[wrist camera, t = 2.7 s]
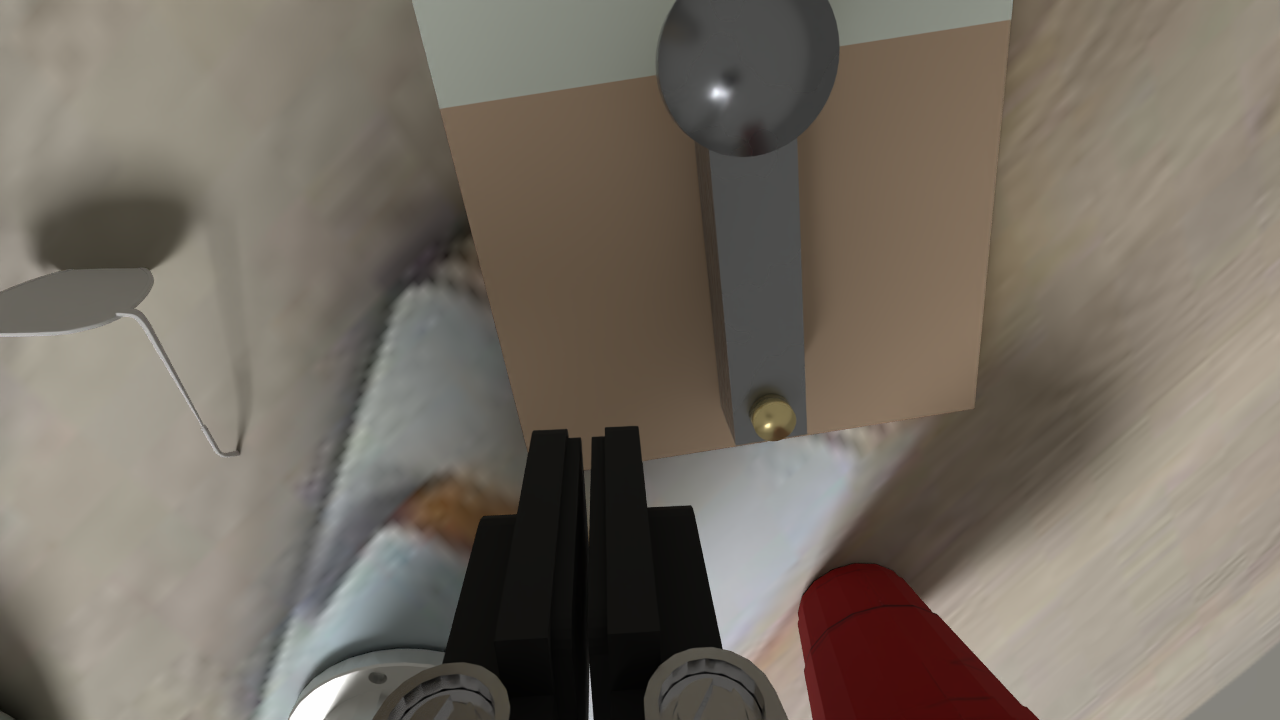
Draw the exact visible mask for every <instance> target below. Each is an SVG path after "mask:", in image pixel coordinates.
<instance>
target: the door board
mask: <svg viewBox="0 0 1280 720" xmlns="http://www.w3.org/2000/svg"><path fill="white" fill-rule="evenodd" d="M675 1H676V0H412V3H413V6H414V10H415V14H416V18H417V22H418V26H419V30H420V34H421V38H422V42H423V45H424V49H425V53H426V57H427V61H428V65H429V69H430V73H431V77H432V81H433V84H434V88H435V92H436V96H437V100H438V104H439V108H440V112H441V116H442V119H443V123H444V127H445V131H446V135H447V139H448V143H449V147H450V151H451V155H452V158H453V162H454V166H455V170H456V174H457V178H458V182H459V186H460V190H461V194H462V197H463V201H464V205H465V209H466V213H467V217H468V221H469V225H470V229H471V233H472V236H473V240H474V244H475V248H476V252H477V256H478V260H479V264H480V268H481V271H482V275H483V279H484V283H485V287H486V291H487V295H488V299H489V303H490V307H491V310H492V314H493V318H494V322H495V326H496V330H497V334H498V338H499V342H500V346H501V349H502V353H503V357H504V361H505V365H506V369H507V373H508V377H509V381H510V385H511V388H512V392H513V396H514V400H515V404H516V408H517V412H518V416H519V420H520V423H521V427H522V431H523V435H524V439H525V443H526V447H527V451H528V452H529V446H530V441H531V435H532V431H534V430H554V429H567V430H568V435H569V438H577V437H581V441H582V454H583V468H584V470H589V469H591V441H592V437H599V436H605V427H620V426H638V427H639V435H640V445H641V454H642V461H646V460H652V459H659V458H665V457H672V456H678V455H684V454H691V453H697V452H703V451H710V450H716V449H722V448H729V447H735V446H742V445H735V442H734V440H733V437H732V435H731V432H730V429H729V427H728V424H727V422H726V419H725V416H724V414H723V411H722V408H721V403H720V393H719V383H718V373H717V363H716V353H715V343H714V333H713V323H712V313H711V303H710V293H709V283H708V273H707V263H706V253H705V243H704V233H703V223H702V213H701V203H700V192H699V182H698V172H697V162H696V152H695V142H694V140H693V139H691V138H690V137H688V136H687V135H686V134H685V133H684V132H683V131H682V130H681V129H680V128H679V127H678V126H677V125H676V123H675V122H674V121H673V120H672V118H671V116H670V115H669V113H668V111H667V110H666V108H665V105H664V103H663V101H662V98H661V95H660V92H659V89H658V84H657V78H656V65H655V61H656V49H657V43H658V38H659V34H660V31H661V28H662V25H663V23H664V20H665V18H666V16H667V14H668V12H669V10H670V8H671V7H672V5H673V3H674V2H675ZM828 1H829V3H830V5H831V7H832V10H833V13H834V16H835V19H836V22H837V28H838V33H839V45H840V51H839V64H838V70H837V75H836V79H835V82H834V86H833V88H832V91H831V93H830V96H829V98H828V100H827V102H826V104H825V105H824V107H823V109H822V111H821V112H820V113H819V115H818V116H817V118H816V119H815V120H814V122H813V123H812V124H811V125H810V126H809V127H808V128H807V129H806V130H805V131H804V132H803V133H802V134H801V135H800V136H798V137H797V148H798V178H799V207H800V236H801V266H802V295H803V324H804V354H805V383H806V412H807V434H806V435H812V434H818V433H824V432H831V431H837V430H843V429H850V428H856V427H862V426H869V425H875V424H882V423H888V422H894V421H901V420H907V419H913V418H920V417H926V416H932V415H939V414H945V413H952V412H958V411H964V410H971V409H974V406H975V396H976V385H977V375H978V364H979V354H980V343H981V333H982V322H983V312H984V301H985V290H986V280H987V269H988V259H989V248H990V238H991V227H992V217H993V206H994V196H995V185H996V175H997V164H998V154H999V143H1000V132H1001V122H1002V111H1003V101H1004V90H1005V80H1006V69H1007V59H1008V48H1009V38H1010V27H1011V17H1012V6H1013V0H828ZM800 436H805V435H800ZM794 437H799V436H794ZM787 438H792V437H787ZM784 439H786V438H784ZM762 442H767V441H762ZM755 443H761V442H755ZM749 444H754V443H749ZM743 445H748V444H743Z"/></svg>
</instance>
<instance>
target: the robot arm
mask: <svg viewBox="0 0 1280 720" xmlns="http://www.w3.org/2000/svg"><path fill="white" fill-rule="evenodd" d="M589 664H590V677H591V690H592V704H593V717H594V720H788V718H787V715H786V713H785V711H784V709H783V706H782V704H781V702H780V700H779V698H778V695H777V693H776V691H775V689H774V688H773V686H772V685H771V683H770V681H769V680H768V678H767V677H766V675H765V674H764V673H763V672H762V671H761V670H760V669H759V668H758V667H756V666H755V665H754V664H753V663H752V662H751V661H750V660H748V659H746V658H744V657H742V656H740V655H738V654H736V653H734V652H732V651H728V650H723V649H722V644H721V639H720V634H719V630H718V625H717V620H716V615H715V610H714V606H713V601H712V596H711V591H710V587H709V582H708V577H707V572H706V567H705V563H704V558H703V553H702V548H701V543H700V539H699V534H698V529H697V524H696V519H695V515H694V511H693V508H692V506H691V505H690V506H670V507H651V508H647V501H646V492H645V482H644V473H643V463H642V454H641V445H640V435H639V427H638V426H620V427H605V436H599V437H592V441H591V486H590V531H589V542H588V527H587V512H586V498H585V483H584V468H583V454H582V441H581V437H577V438H569V435H568V430H567V429H554V430H534V431H532V435H531V441H530V446H529V452H528V457H527V463H526V468H525V474H524V479H523V484H522V490H521V495H520V501H519V506H518V512H517V514H514V515H495V516H483V517H482V518H481V520H480V522H479V525H478V529H477V532H476V536H475V540H474V544H473V548H472V552H471V555H470V559H469V563H468V567H467V571H466V574H465V578H464V582H463V586H462V590H461V594H460V597H459V601H458V605H457V609H456V613H455V616H454V620H453V624H452V628H451V632H450V636H449V639H448V643H447V647H446V651H445V652H439V651H432V650H425V649H391V650H382V651H374V652H370V653H366V654H363V655H359V656H355V657H352V658H349V659H347V660H344V661H342V662H340V663H338V664H336V665H333V666H331V667H329V668H328V669H326V670H325V671H324V672H322V673H321V674H319V675H318V676H317V677H315V678H314V679H313V680H312V681H311V682H310V683H309V684H308V685H307V686H306V688H305V689H304V690H303V691H302V692H301V694H300V696H299V698H298V700H297V702H296V703H295V705H294V707H293V709H292V711H291V713H290V715H289V718H288V720H588V715H589Z"/></svg>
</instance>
